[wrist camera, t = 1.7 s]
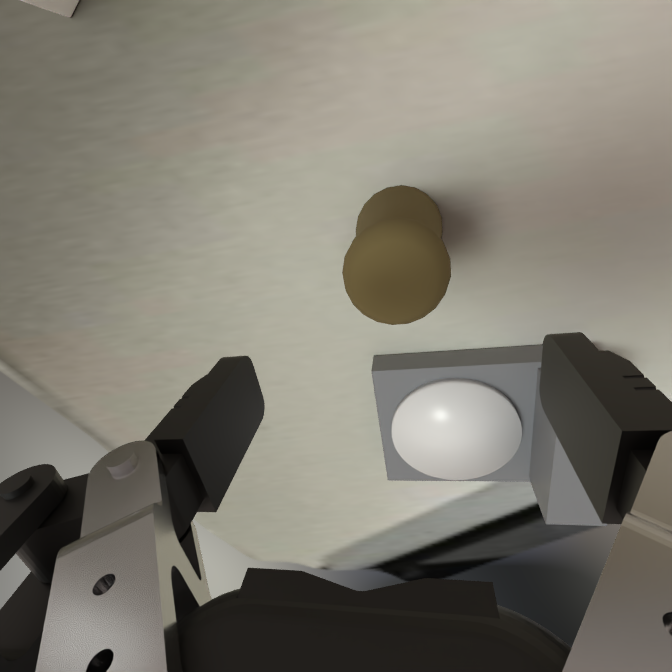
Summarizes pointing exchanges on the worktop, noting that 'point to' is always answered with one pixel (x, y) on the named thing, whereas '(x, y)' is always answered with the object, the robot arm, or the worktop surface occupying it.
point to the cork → (397, 257)
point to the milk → (56, 6)
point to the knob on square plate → (476, 425)
